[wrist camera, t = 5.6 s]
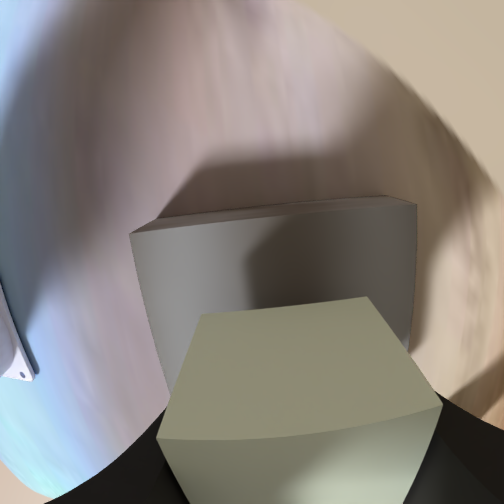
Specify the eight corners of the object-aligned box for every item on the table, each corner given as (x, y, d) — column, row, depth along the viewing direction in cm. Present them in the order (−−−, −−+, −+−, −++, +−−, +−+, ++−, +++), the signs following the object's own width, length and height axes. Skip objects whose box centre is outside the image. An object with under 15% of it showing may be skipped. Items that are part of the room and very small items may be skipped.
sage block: (227, 428, 11) (213, 540, 6) (201, 313, 9) (156, 438, 5) (358, 414, 10) (392, 520, 6) (366, 296, 9) (443, 404, 4)
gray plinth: (196, 401, 16) (186, 440, 13) (155, 219, 13) (128, 233, 10) (378, 382, 15) (395, 418, 13) (385, 195, 13) (416, 204, 10)
